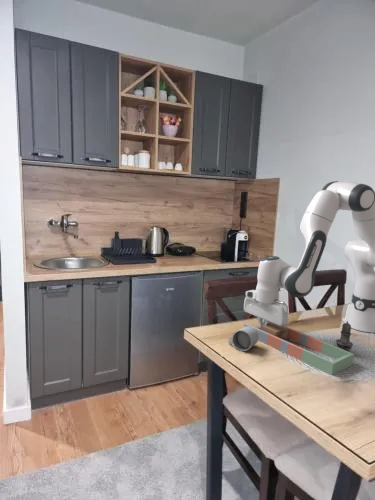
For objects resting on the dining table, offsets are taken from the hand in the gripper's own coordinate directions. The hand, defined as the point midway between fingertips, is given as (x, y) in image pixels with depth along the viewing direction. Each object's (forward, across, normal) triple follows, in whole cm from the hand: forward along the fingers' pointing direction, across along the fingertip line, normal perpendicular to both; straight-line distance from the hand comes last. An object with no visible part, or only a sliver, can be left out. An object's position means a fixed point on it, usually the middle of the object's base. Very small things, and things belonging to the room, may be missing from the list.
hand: (263, 328), depth 140 cm
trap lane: (+2, -15, 0) cm, 15 cm away
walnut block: (+2, -6, 0) cm, 6 cm away
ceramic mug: (+2, -4, +17) cm, 17 cm away
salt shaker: (+2, -27, -14) cm, 30 cm away
